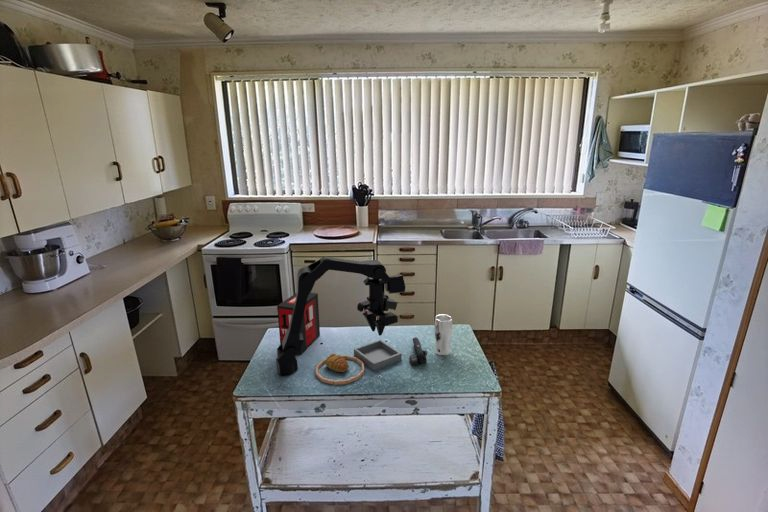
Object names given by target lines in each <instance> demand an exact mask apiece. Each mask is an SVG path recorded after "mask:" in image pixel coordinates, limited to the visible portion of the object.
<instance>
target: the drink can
mask: <svg viewBox="0 0 768 512" xmlns="http://www.w3.org/2000/svg"><path fill="white" fill-rule="evenodd" d="M433 331H434V333H433V334H434V340H435V348H434V354H436V355H437V354H438V355H437V356H440V355H446V356H448V354H449V353H451V350H450V344H451V339H452V334H453V317H452V316H450V315H449V314H443V313H442V314H437V315H436V316H435V318H434V328H433ZM449 355H450V354H449Z"/></svg>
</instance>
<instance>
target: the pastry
mask: <svg viewBox="0 0 768 512" xmlns="http://www.w3.org/2000/svg"><path fill="white" fill-rule="evenodd" d="M326 358H327V359H326ZM326 358H325V359H326V361H325V363H324V364H325V365H326V366H327V368H328V369H330V370H332V371H334V372H339V373H344V372H346V371H347V370H349V368H350V365H349V363H348V361H347V359H344V358H343V357H341V356H340V354H337V353H331V354H330V355H328V356H327V357H326Z"/></svg>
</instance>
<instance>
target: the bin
mask: <svg viewBox="0 0 768 512" xmlns="http://www.w3.org/2000/svg"><path fill="white" fill-rule="evenodd" d="M402 355H403V354H402V352H400V351H399V350H397V349H396V348H394V347H393V346H391V345H390V344H388V343H386V342H385V341H383V340H382V339H378V340H376V341H375V340H374V341H373V342H369V343H367V344H364V345H361V346H358V347H356V348H355V347H354V348H353V357H357V358H358V359H359V360H361V361H362V362H363V363H364V366H367V367H368V368H369V369H370V370H372V371H373V372H376V371H378V370H380V369H383V368H387V367H388V366H390V365H393V364H395V363H398V362H400V361H401V360H402V359H403V358H402V357H403V356H402Z"/></svg>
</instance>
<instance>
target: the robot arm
mask: <svg viewBox="0 0 768 512" xmlns="http://www.w3.org/2000/svg"><path fill="white" fill-rule="evenodd" d="M328 271H337V272H343V273H344V272H345V273H351V274H352V273H353V274H359V275H363V276H365V277H366V278H365V279H364V280H363V281H362V282H363V284H364V285H365V286H368V296H367V297H366V300H364V301H360V302H358V304H356V305H357V306H356V309H357V311H358V312H361V313H362V312H363V313H362V315H363V316H364V318H365V320H366V322H367V324H368V326H369V328H370V329H371V331H372V332H376V330H377V333H378V336H381V337H382V335H383V333H384V330H385V327H388V326H390V325H394V324H396V323H399V316H398V315H397V314H395V313H393V312H391V311H389V310H393V311H396V309H397V307H398V303H399V302H398V301H396V300H394V299H392V298H390V297H389V295H392V294H400V293H405V292H406V283H405V280H404V275H403V274H394V275H389V274H388V273H387V269H386V267H385V266H384V264H383V263H382V262H381V261H379V260H378V259H373V260H372V259H367V260H363V261H358V260H351V259H344V258H343V259H342V258H337V257H336V258H335V257H329V256H327V255H325V256H322V257H321V258H319V259H318V260H316V261H314V262H311V263H310V264H309V265H307V266H304V267H301V268H300V269H299V270H298V271H297V273H296V293H297V294H296V293H295V294H296V299H295V303H294V308H293V312H292V317H291V321H290V326H289V329H288V330H287V332H286V334H285V336H284V338H283V341H282V344H281V345H280V344H279V346H278V347H277V349H276V358H275V361H276V363H275V364H276V373H277V374H278V375H279V377H288V376H292V375H293V374H295V372H297V371H298V368H299V367H298V359H297V358H296V356H299V355H298V353H299V350H300V351H301V346H302V343H303V335H302V333H300V329H301V324H302V320H303V316H304V311H305V307H306V302H307V298H308V295H309V294H310V293H312V292H313V291H312V290H313V288H314V286H315V285H316V282H317V281H318V280H319V279H321V278H322V276H324V275H325V273H326V272H328ZM385 292H387V293H388V295H387V294H385ZM388 311H389V312H388ZM377 317H378V319H377Z"/></svg>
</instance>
